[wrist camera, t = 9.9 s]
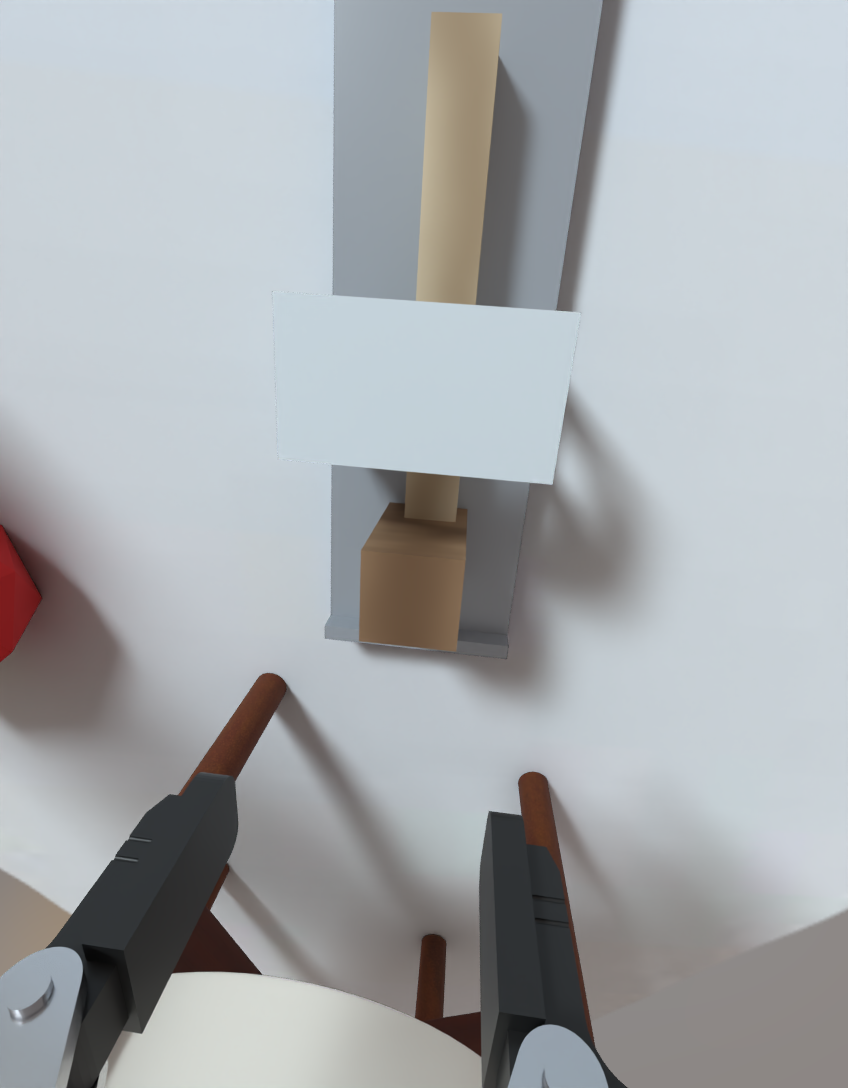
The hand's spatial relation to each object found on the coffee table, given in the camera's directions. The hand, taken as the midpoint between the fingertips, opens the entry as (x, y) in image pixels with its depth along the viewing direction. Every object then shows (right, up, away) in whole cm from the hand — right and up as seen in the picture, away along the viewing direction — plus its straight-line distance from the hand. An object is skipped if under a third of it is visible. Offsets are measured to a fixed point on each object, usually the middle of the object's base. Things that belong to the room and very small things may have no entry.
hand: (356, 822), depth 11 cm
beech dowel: (+3, +17, +11) cm, 20 cm away
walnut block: (+2, +6, +15) cm, 16 cm away
